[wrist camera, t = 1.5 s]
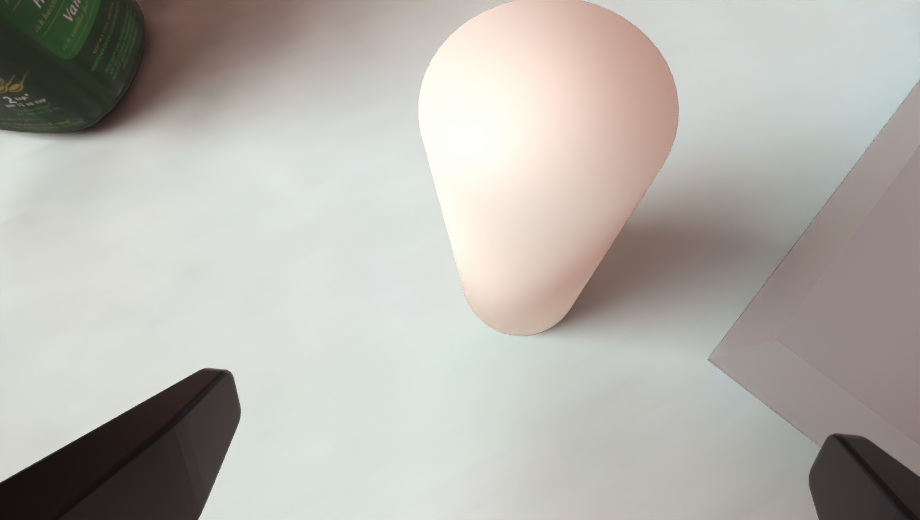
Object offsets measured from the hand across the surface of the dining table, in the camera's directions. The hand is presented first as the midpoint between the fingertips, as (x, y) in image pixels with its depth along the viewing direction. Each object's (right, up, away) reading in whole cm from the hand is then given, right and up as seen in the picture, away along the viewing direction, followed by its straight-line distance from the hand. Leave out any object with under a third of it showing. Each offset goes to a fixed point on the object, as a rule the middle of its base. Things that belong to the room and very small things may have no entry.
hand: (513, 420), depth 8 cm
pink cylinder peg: (+1, +2, +12) cm, 13 cm away
